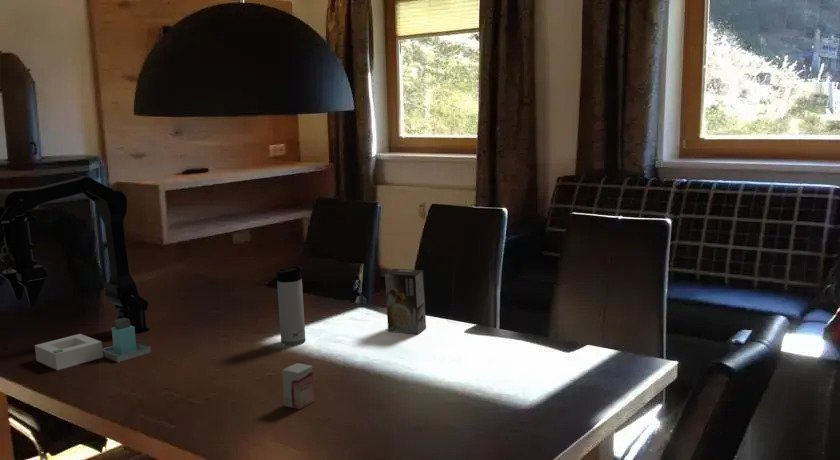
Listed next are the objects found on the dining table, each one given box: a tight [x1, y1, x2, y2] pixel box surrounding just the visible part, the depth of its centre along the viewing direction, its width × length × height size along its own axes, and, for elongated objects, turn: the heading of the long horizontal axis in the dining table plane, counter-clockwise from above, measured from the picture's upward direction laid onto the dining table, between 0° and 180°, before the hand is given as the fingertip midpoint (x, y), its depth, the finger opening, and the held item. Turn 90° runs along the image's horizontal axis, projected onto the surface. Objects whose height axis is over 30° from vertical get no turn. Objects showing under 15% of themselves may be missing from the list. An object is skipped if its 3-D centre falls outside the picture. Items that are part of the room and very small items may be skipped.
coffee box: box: [384, 268, 427, 335], centre depth 207 cm, size 9×6×16 cm
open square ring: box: [102, 341, 152, 363], centre depth 196 cm, size 9×9×2 cm
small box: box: [281, 362, 315, 410], centre depth 160 cm, size 5×4×8 cm
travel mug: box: [276, 265, 306, 347], centre depth 199 cm, size 6×7×20 cm
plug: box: [111, 318, 138, 355], centre depth 195 cm, size 4×4×9 cm
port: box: [34, 333, 104, 371], centre depth 193 cm, size 12×12×4 cm
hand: (25, 302), depth 192 cm, fingers open, 9 cm apart
